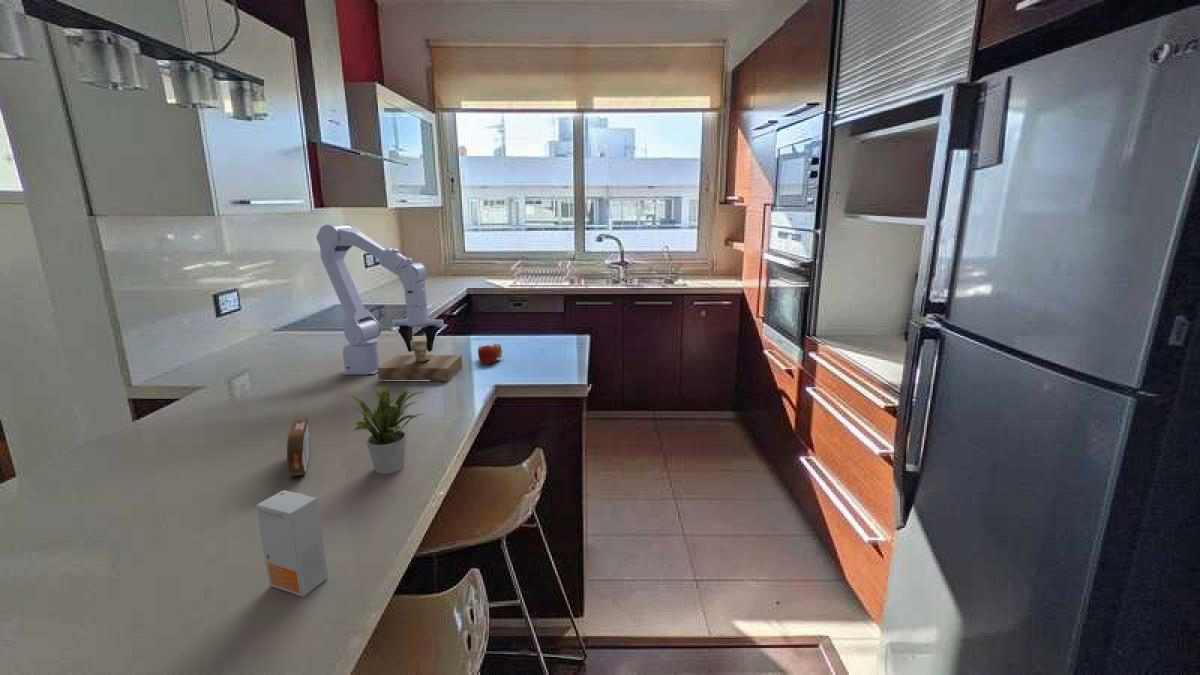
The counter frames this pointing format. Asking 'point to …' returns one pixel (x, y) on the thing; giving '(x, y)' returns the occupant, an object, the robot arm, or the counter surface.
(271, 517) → the skincare box
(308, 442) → the tin
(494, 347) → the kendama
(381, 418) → the house plant
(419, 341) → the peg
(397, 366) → the board
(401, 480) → the counter surface
